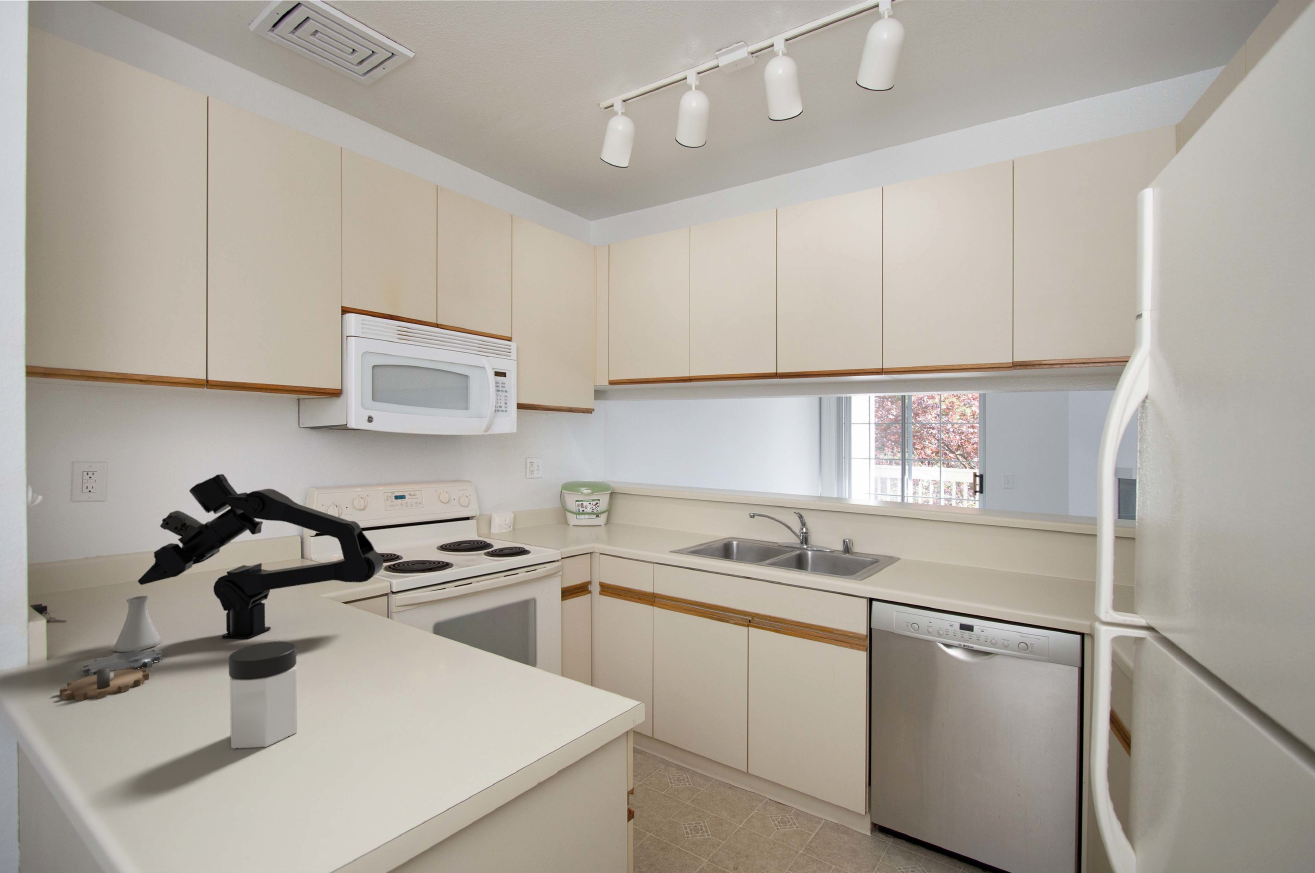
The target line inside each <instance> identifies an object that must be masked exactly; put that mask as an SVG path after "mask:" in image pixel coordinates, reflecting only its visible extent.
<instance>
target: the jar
mask: <svg viewBox="0 0 1315 873" xmlns="http://www.w3.org/2000/svg"><path fill="white" fill-rule="evenodd" d="M297 655H298V654H297V645H296V644H295V643H293V642H291V641H277V640H276V641H268V642H260V643H256V644H252V645H248V646H245V647H242V648H239V649H237V650H235V651H233V652H232V653H231V654H230V655H229V656H228V676H229V715H230V716H229V718H230V720H229V721H230V724H229V726H230V727H229V728H230V748H231V749H233V750H234V749H235V750H236V748H238V749H250V748H251V749H255V748H256V749H257V748H266V747H267V748H268V747H269V746H272V745H273V744H276V743H279V742H280V741H282V740H284V739H286V738H288V736H289V737H290V736H293V735H295V734H296V733H297V732H298V729H299V728H298V725H299V724H298V723H299V722H298V721H299V720H298V668H297V665H296V664H297Z"/></svg>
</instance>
